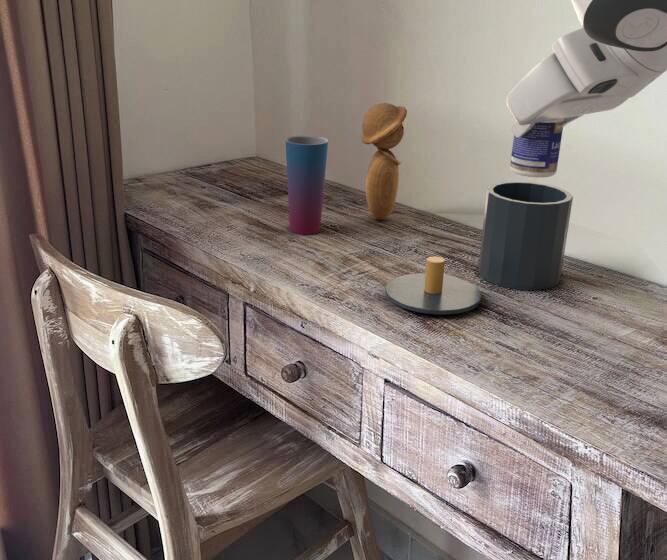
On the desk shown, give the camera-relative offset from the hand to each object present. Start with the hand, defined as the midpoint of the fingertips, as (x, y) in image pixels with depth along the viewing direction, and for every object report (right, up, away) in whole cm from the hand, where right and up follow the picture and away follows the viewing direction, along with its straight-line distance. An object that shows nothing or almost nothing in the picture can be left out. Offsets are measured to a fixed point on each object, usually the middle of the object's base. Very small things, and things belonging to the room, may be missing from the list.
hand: (534, 129), depth 99 cm
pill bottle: (0, -5, +2) cm, 6 cm away
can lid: (-11, -20, +10) cm, 25 cm away
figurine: (-17, -8, +42) cm, 46 cm away
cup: (-29, -10, +35) cm, 47 cm away
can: (+3, -18, +19) cm, 26 cm away
